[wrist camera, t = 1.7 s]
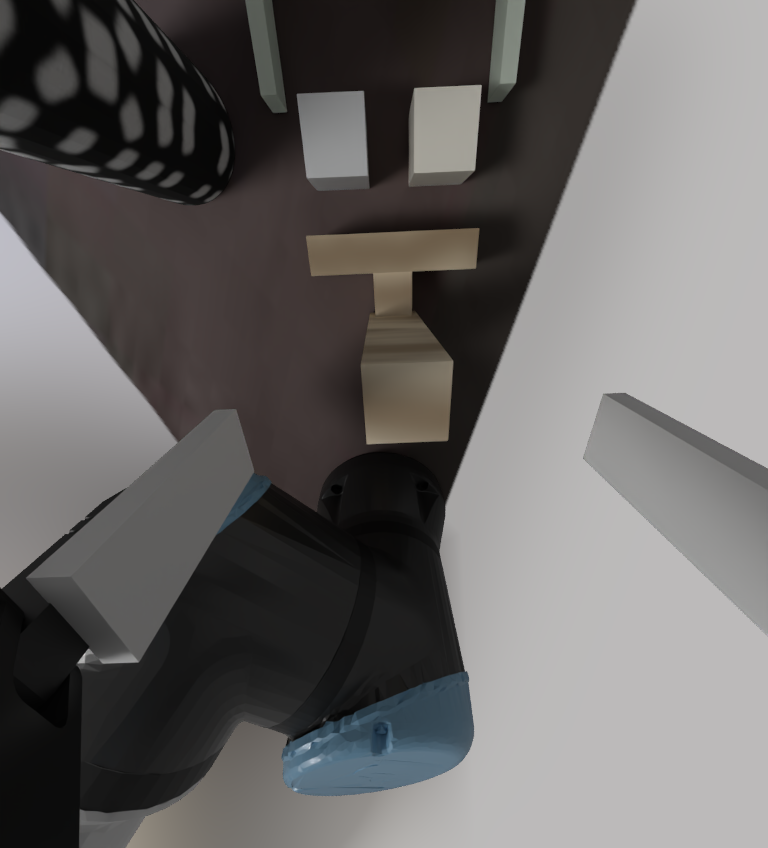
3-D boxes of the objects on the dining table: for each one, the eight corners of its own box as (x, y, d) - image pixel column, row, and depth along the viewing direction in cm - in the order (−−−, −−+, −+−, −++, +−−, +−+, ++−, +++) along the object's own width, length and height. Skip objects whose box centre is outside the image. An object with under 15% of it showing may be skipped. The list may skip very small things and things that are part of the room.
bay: (501, 101, 21) (515, 82, 19) (273, 112, 21) (260, 95, 19) (522, -104, 17) (543, -158, 15) (242, -89, 18) (222, -140, 15)
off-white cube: (460, 184, 24) (475, 170, 20) (408, 186, 24) (413, 173, 20) (464, 114, 22) (481, 84, 18) (408, 116, 22) (414, 88, 18)
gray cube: (369, 188, 24) (367, 175, 20) (317, 191, 24) (306, 178, 20) (366, 118, 22) (363, 90, 18) (310, 121, 22) (296, 93, 18)
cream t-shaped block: (456, 353, 29) (529, 437, 15) (330, 358, 29) (285, 447, 15) (465, 233, 25) (580, 191, 10) (316, 240, 25) (232, 207, 11)
